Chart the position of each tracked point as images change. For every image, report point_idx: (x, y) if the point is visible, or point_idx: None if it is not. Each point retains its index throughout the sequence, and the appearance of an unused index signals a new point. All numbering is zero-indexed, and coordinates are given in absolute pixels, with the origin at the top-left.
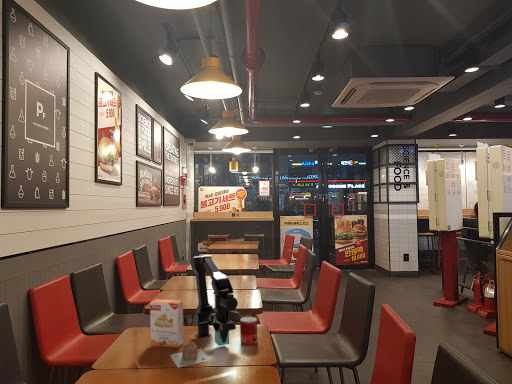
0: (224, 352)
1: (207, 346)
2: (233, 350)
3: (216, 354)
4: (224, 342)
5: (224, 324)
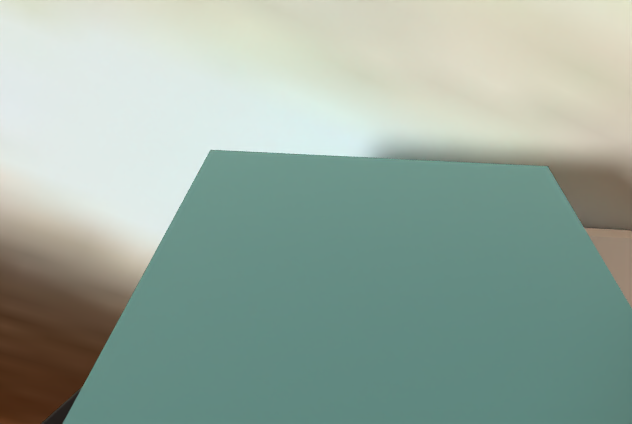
0: None
1: None
2: (594, 14)
3: None
4: None
5: None
